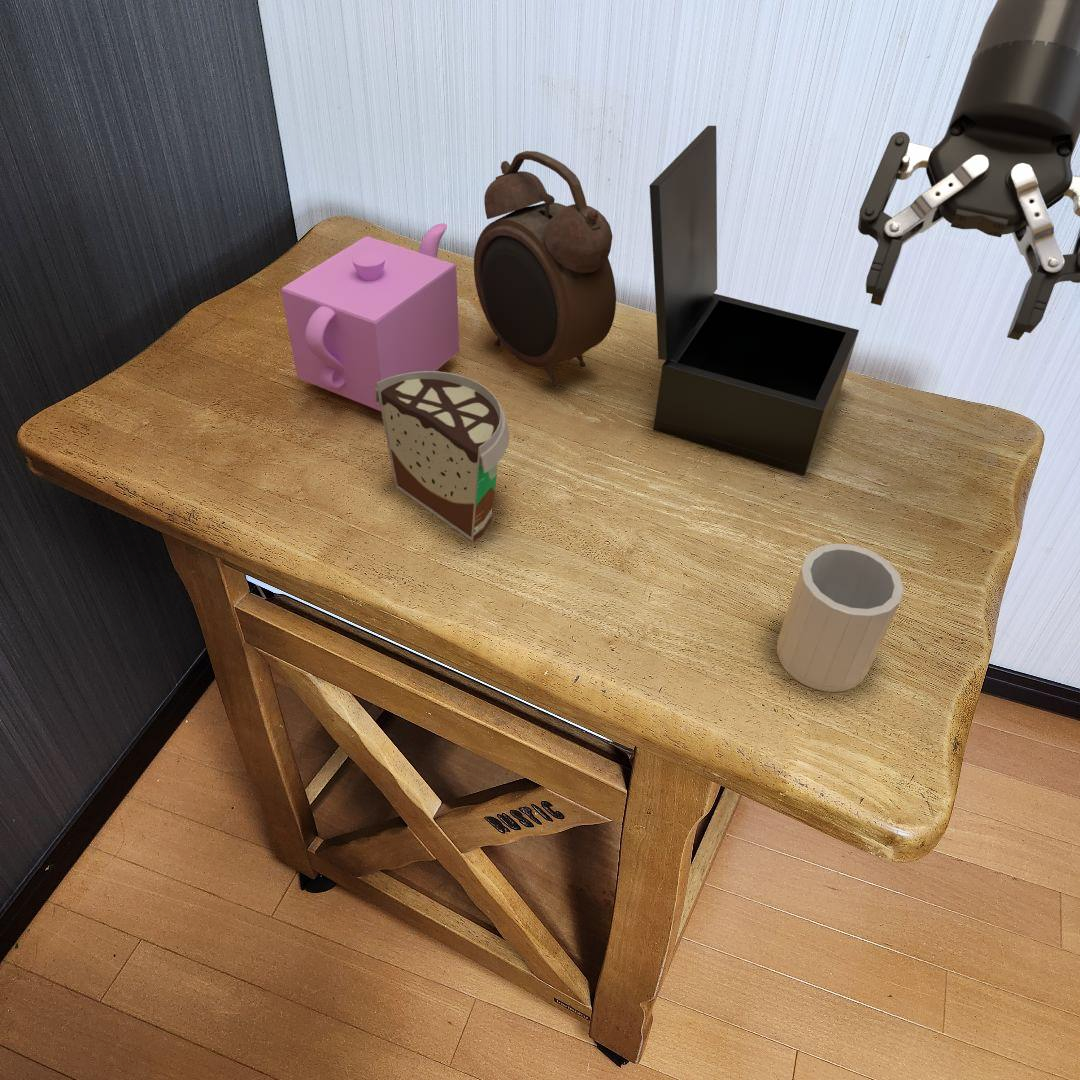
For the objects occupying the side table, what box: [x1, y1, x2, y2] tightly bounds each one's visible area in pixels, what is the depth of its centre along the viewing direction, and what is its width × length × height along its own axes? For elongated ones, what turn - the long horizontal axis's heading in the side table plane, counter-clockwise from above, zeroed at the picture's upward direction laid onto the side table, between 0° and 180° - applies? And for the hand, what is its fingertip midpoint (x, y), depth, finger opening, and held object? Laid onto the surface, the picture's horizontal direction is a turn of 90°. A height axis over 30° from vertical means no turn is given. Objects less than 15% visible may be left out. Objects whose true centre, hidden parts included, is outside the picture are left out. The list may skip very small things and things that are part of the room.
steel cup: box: [776, 542, 905, 693], centre depth 62 cm, size 6×6×8 cm
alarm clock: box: [473, 150, 617, 388], centre depth 83 cm, size 15×7×20 cm, turn 41°
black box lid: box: [649, 125, 718, 361], centre depth 77 cm, size 15×14×1 cm
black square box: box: [652, 293, 860, 477], centre depth 83 cm, size 14×14×7 cm
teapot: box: [280, 222, 460, 412], centre depth 84 cm, size 20×10×12 cm, turn 150°
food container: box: [375, 371, 510, 543], centre depth 72 cm, size 12×6×10 cm, turn 47°
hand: (944, 318), depth 58 cm, fingers open, 8 cm apart
